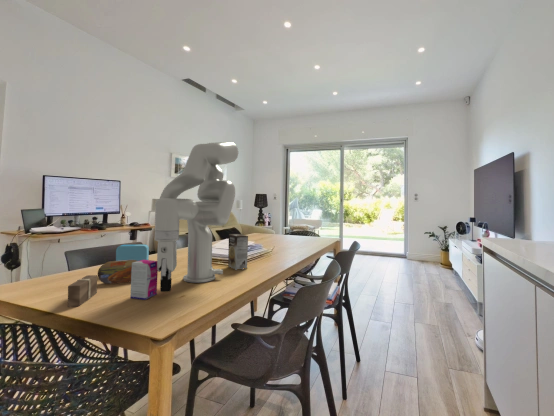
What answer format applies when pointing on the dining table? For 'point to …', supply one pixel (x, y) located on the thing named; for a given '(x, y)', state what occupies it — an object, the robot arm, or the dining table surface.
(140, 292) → the supplement box
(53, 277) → the dining table surface
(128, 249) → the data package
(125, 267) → the tin
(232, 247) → the coffee box
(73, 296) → the brown rectangular block
